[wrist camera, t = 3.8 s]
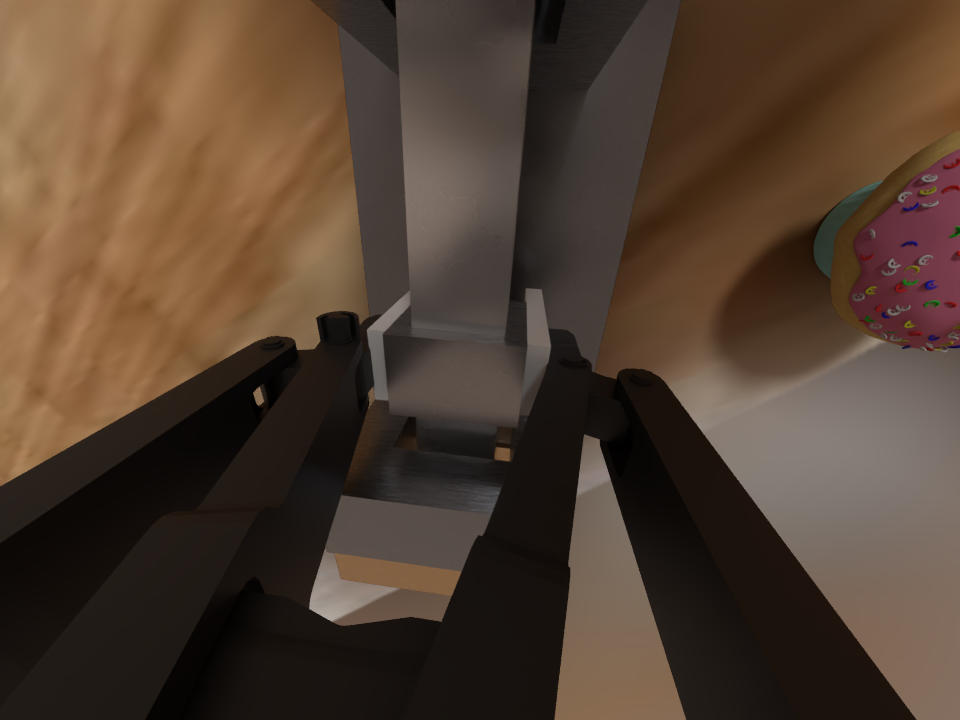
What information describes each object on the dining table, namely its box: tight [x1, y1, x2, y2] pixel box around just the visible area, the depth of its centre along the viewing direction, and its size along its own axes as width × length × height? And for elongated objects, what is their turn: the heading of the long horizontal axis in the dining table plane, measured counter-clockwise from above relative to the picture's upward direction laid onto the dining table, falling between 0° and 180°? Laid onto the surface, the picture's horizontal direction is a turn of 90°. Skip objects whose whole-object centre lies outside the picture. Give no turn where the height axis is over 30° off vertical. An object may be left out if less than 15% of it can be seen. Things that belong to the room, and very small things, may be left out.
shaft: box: [382, 0, 536, 460], centre depth 12 cm, size 24×4×4 cm, turn 177°
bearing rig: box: [311, 0, 681, 572], centre depth 14 cm, size 25×14×14 cm, turn 177°
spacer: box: [335, 442, 510, 596], centre depth 18 cm, size 2×9×9 cm, turn 87°
